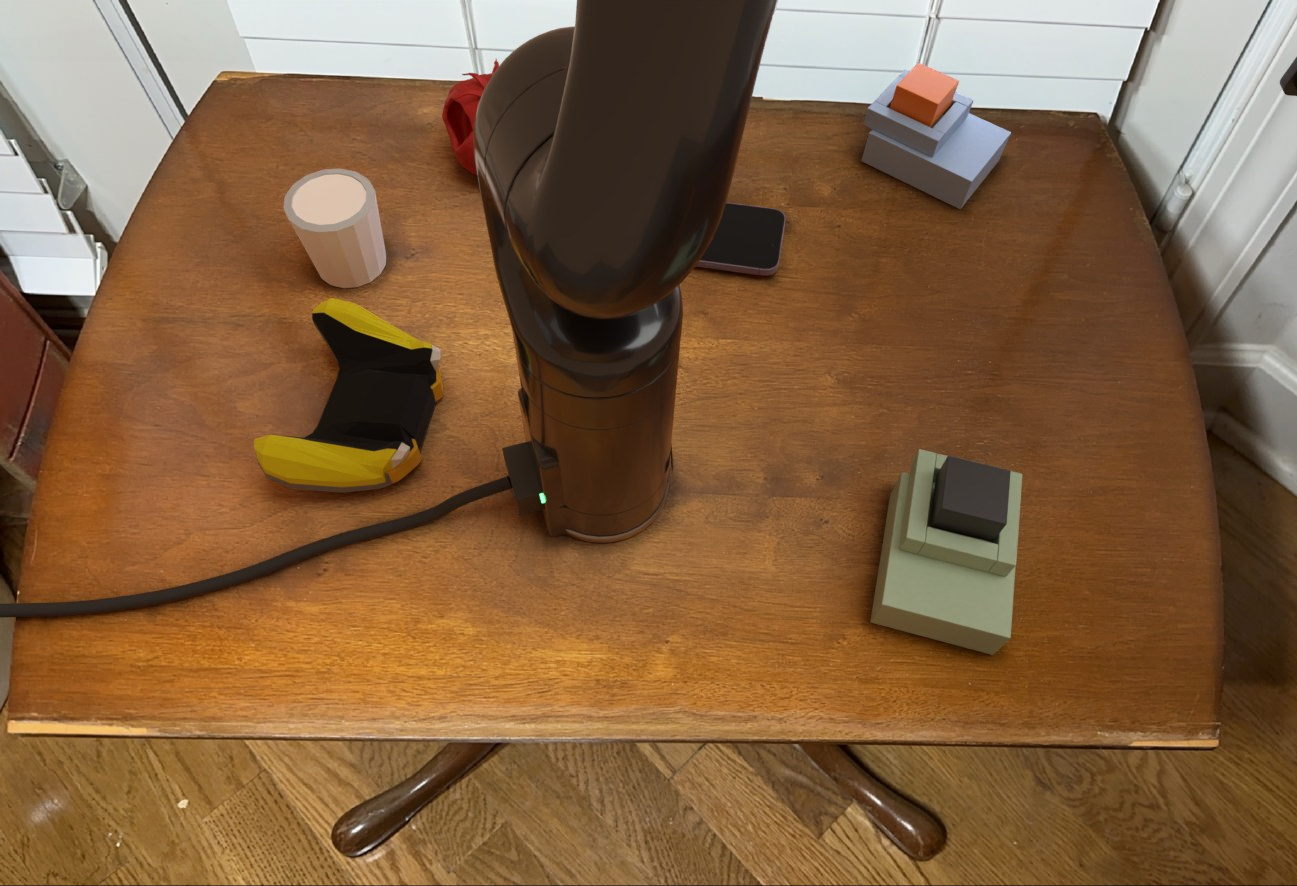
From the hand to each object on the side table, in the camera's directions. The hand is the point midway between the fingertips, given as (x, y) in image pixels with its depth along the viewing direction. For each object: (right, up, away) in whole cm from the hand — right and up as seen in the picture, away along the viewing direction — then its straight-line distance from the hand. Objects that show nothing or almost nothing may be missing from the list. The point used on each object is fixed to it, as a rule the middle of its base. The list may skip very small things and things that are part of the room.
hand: (1274, 41), depth 50 cm
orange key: (-10, +8, +31) cm, 34 cm away
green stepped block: (-14, -30, +12) cm, 36 cm away
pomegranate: (-47, +4, +33) cm, 57 cm away
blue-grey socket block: (-8, +4, +34) cm, 35 cm away
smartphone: (-30, -4, +28) cm, 42 cm away
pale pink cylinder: (-58, -7, +26) cm, 64 cm away
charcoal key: (-13, -26, +10) cm, 31 cm away
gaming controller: (-54, -20, +18) cm, 61 cm away
